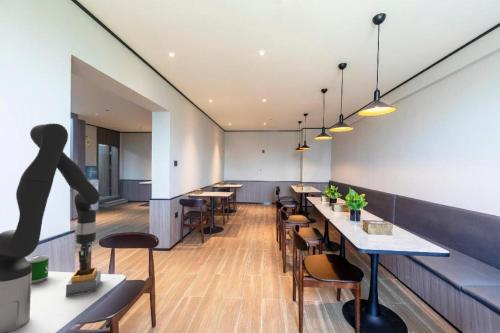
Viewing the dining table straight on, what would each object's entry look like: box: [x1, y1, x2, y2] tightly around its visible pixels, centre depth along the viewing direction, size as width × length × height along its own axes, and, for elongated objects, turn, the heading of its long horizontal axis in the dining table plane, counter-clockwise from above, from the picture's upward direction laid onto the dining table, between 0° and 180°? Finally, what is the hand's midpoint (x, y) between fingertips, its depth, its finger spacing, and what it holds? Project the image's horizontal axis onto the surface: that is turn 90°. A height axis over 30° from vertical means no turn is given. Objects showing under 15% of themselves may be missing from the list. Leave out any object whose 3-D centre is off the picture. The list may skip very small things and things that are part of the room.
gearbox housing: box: [65, 267, 102, 297], centre depth 104 cm, size 11×11×8 cm
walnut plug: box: [78, 250, 92, 272], centre depth 104 cm, size 4×4×8 cm
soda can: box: [27, 253, 50, 284], centre depth 111 cm, size 8×8×12 cm
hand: (85, 267), depth 104 cm, fingers closed on walnut plug, 4 cm apart
